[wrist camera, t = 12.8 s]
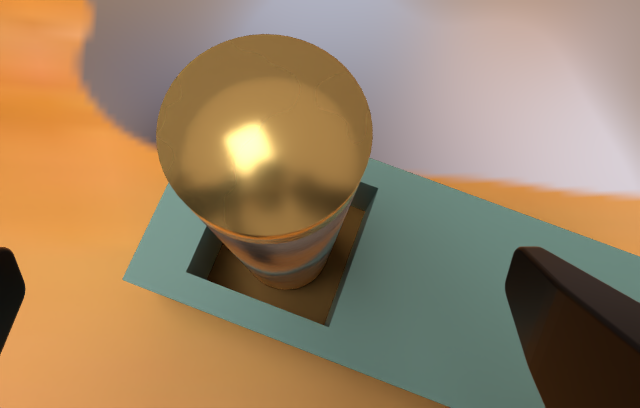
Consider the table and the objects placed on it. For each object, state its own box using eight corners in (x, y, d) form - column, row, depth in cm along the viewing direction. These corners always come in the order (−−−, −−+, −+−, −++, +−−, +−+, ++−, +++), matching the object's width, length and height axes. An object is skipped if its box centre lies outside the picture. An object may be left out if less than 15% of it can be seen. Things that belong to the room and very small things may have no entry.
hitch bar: (153, 287, 22) (121, 279, 18) (223, 135, 24) (208, 98, 20) (573, 450, 21) (636, 480, 17) (609, 278, 23) (674, 269, 19)
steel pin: (250, 296, 22) (168, 253, 8) (238, 213, 23) (145, 49, 9) (336, 281, 22) (393, 214, 8) (320, 199, 23) (349, 21, 9)
